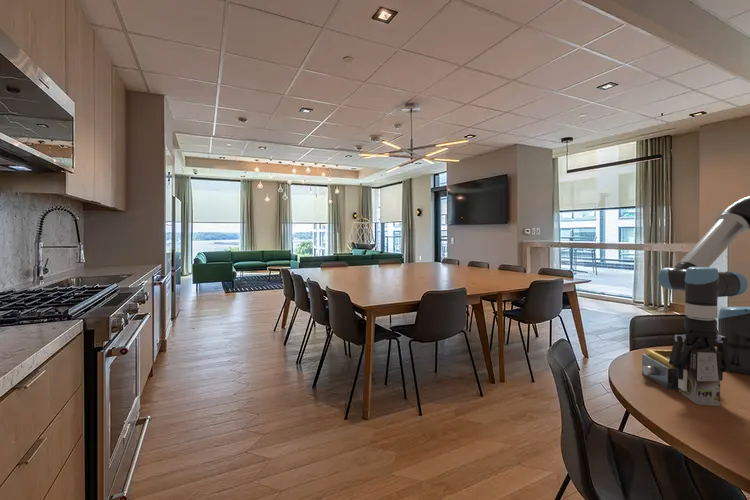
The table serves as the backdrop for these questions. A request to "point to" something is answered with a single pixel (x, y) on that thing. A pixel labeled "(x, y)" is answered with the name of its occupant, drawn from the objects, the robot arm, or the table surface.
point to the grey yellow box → (660, 368)
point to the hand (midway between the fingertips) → (698, 389)
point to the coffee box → (703, 377)
